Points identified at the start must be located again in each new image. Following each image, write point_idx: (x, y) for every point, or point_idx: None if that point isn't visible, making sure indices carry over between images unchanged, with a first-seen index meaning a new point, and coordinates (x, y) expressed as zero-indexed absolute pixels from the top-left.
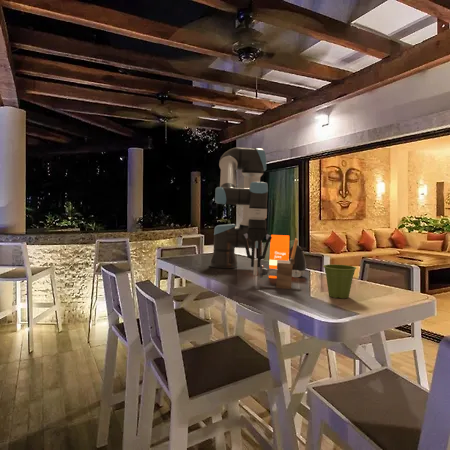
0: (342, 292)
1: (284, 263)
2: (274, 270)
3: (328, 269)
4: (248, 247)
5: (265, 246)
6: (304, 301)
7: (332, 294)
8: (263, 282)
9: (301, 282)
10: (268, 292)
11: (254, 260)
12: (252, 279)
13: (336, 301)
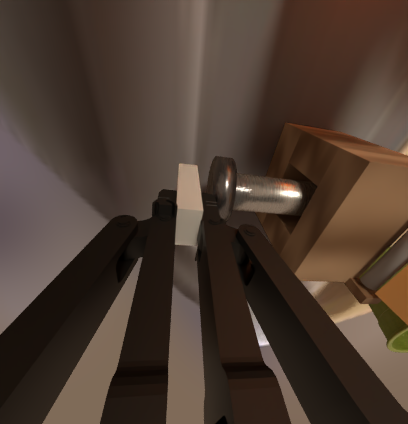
0: None
1: (321, 280)
2: (278, 213)
3: (387, 338)
4: (90, 315)
5: (280, 352)
6: None
7: None
8: (229, 110)
9: None
10: None
11: (176, 241)
12: (176, 11)
13: (332, 288)
